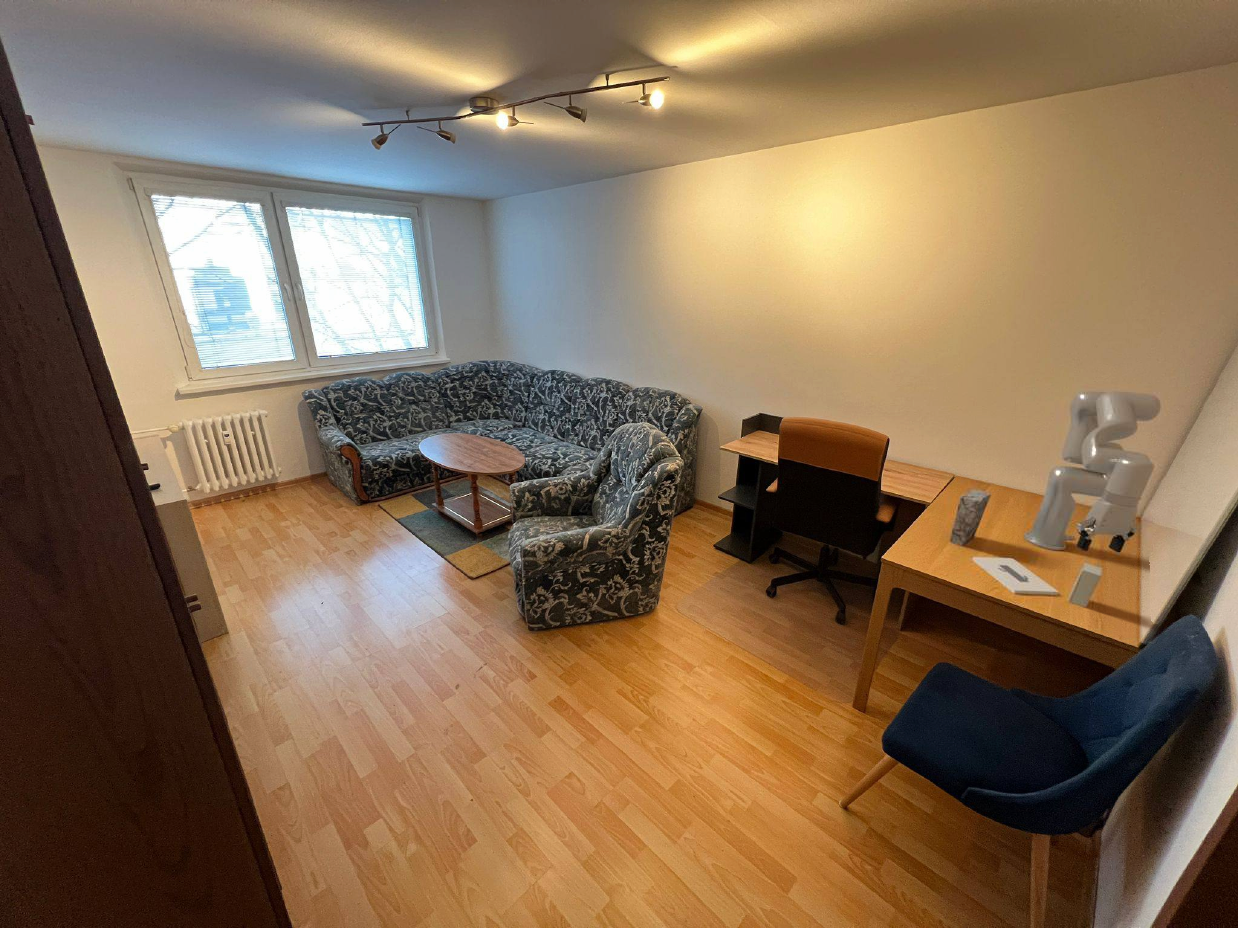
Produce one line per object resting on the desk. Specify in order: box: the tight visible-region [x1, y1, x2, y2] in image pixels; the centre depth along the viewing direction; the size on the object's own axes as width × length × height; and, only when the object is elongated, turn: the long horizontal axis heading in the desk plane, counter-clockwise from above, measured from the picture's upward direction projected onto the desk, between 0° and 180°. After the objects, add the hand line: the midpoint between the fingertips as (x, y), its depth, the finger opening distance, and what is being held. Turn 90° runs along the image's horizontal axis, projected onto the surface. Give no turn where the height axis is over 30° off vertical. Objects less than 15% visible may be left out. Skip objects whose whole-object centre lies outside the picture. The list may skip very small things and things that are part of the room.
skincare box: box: [1067, 562, 1103, 608], centre depth 149 cm, size 6×4×12 cm
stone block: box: [949, 488, 991, 547], centre depth 183 cm, size 13×7×20 cm, turn 132°
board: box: [972, 556, 1059, 596], centre depth 163 cm, size 14×20×1 cm
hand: (1097, 549), depth 144 cm, fingers open, 9 cm apart
